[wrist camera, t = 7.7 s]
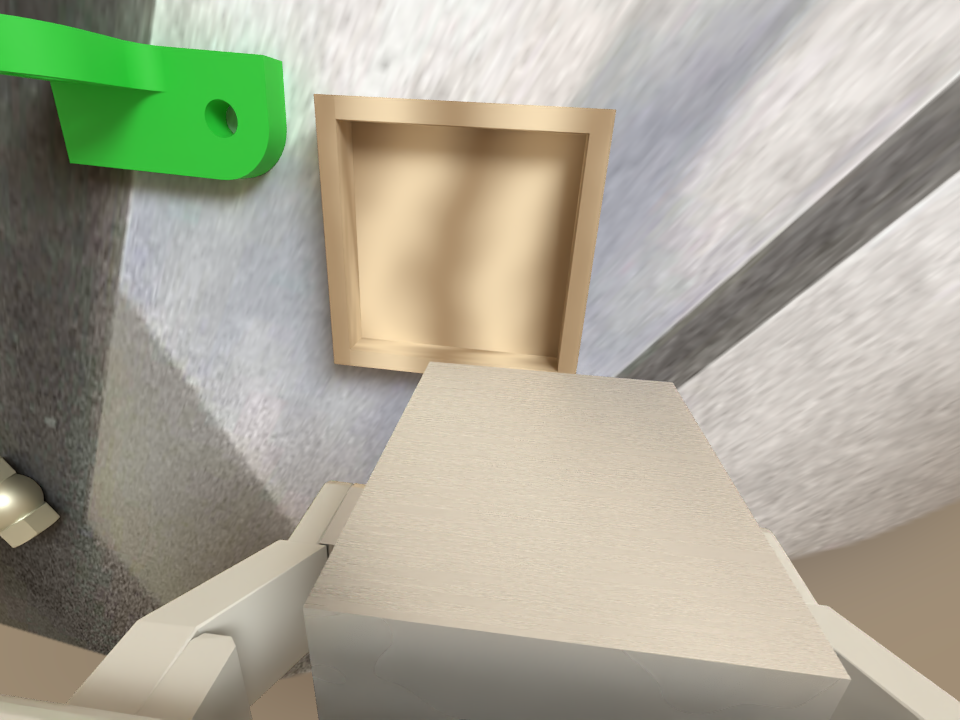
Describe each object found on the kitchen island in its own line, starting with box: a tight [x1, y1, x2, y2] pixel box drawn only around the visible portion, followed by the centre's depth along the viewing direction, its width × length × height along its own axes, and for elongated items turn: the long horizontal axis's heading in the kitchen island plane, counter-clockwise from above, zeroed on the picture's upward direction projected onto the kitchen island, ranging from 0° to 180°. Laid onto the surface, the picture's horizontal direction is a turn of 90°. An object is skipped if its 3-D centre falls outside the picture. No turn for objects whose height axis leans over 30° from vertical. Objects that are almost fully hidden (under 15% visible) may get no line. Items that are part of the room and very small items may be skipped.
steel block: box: [303, 362, 851, 720], centre depth 8 cm, size 5×5×6 cm
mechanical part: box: [0, 14, 287, 180], centre depth 23 cm, size 12×6×8 cm, turn 85°
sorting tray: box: [314, 94, 616, 374], centre depth 26 cm, size 14×14×3 cm
